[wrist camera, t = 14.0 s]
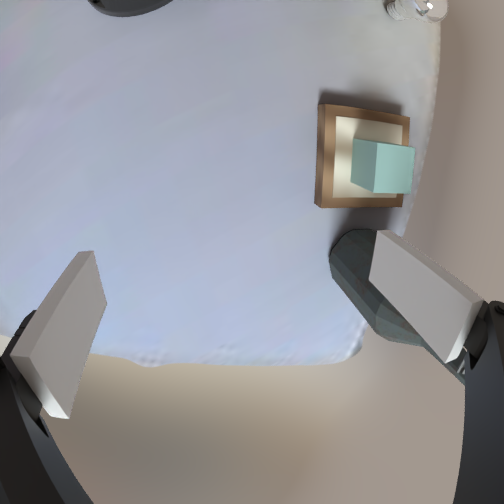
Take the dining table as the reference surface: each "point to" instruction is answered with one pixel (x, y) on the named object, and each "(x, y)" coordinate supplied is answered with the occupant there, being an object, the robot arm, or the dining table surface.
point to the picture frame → (340, 154)
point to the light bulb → (418, 10)
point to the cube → (382, 166)
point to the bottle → (376, 294)
